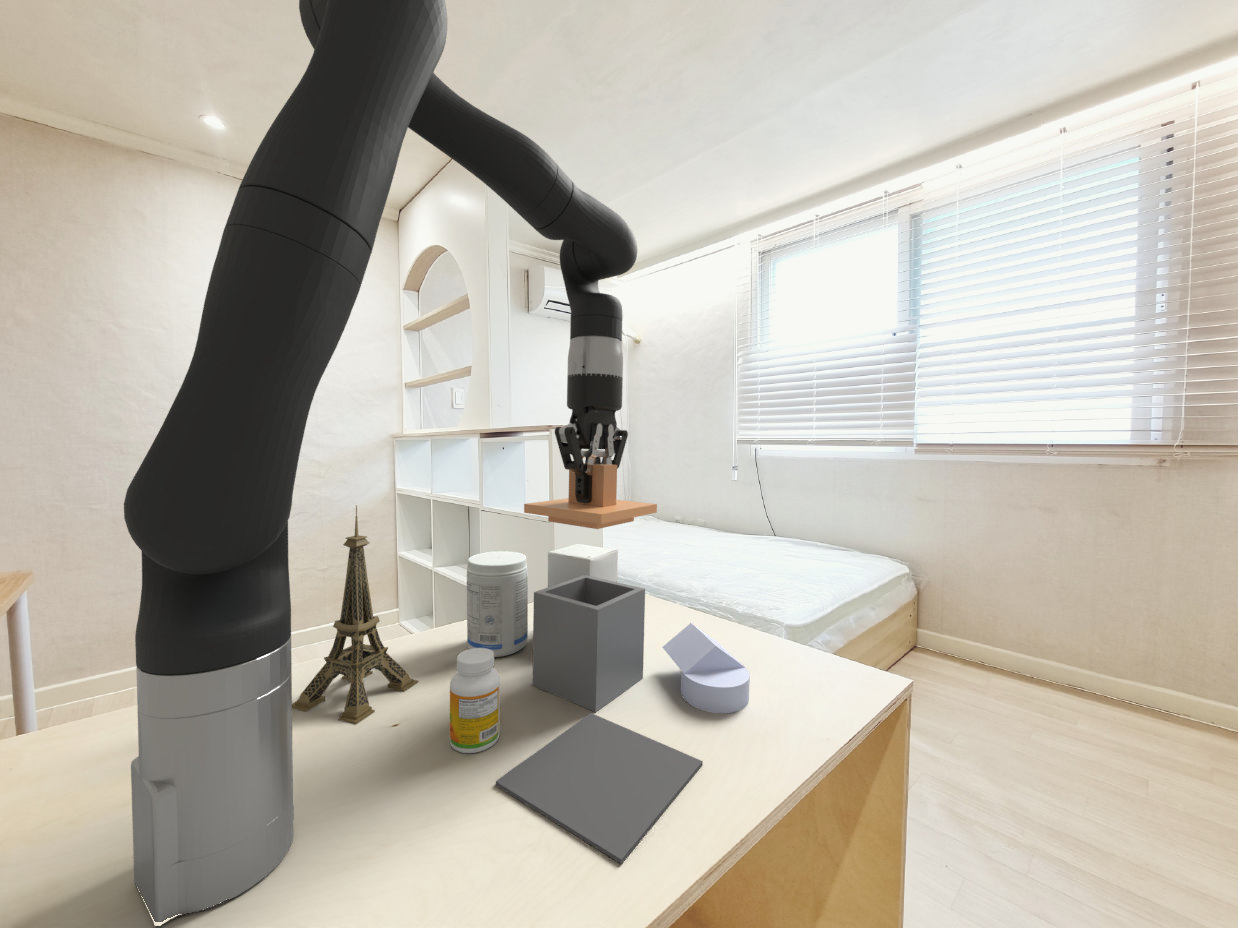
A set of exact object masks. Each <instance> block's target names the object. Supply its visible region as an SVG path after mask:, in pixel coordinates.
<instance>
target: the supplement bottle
mask: <svg viewBox="0 0 1238 928" xmlns="http://www.w3.org/2000/svg"><path fill="white" fill-rule="evenodd" d="M494 666H495V657H494V653H493V651H492V650H490V649H486V648H473V649H469V648H468V649H466V650H464V651H461V652H459V654H458V655H457V657H456V672H455V674H454V675H453V676H451V679H450V682H449V743H450V746H451V747H452V749H453V750H455V751H457V752H459V753H462V754H463V753H464V754H473V753H474V754H475V753H480V752H483V751H485V750H486V751H487V749H489V748H491V747H492V746H494V745H495V744H496V743H497V741H498V740H499V737H500V728H501V727H500V725H501V724H500V722H501V721H500V720H501V719H500V718H501V717H500V716H501V715H500V714H501V706H500V705H501V697H500V696H501V677H500V674H499V672H498V670H497V669H495V667H494Z"/></svg>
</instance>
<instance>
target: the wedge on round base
mask: <svg viewBox="0 0 1238 928" xmlns="http://www.w3.org/2000/svg"><path fill="white" fill-rule="evenodd" d="M662 649H663V650H664V651H665V652H666V653H667V655H668V656H669V657H670V659H671V660H672V661H673V663H674V664H675V665H676V666H677V667H678V668H679V670H680V671H681V672H680V675H681V676H680V695H681V694H682V695H681V697H682V696H683V697H684V699H685V700H684V699H683V700H684V701H685V702H686V701H687V702H688V703H687V702H686V703H687V704H689V705H690V704H691V705H690V706H692V707H694V708H696V709H698V710H702V711H704V712H707V713H713V714H729V713H731V714H732V713H736V712H737V713H738V711H739V712H740V711H741V710H743V709H745V708H746V707H747V706H748V705H749V703H750V702H749V701H750V681H751V680H750V678H751V676H750V675H751V674H750V672H749V670H748V668H746V666H745V665H744V664H742V663H741V662H740V661H739V660H738V659H737V658H736V657H735V656H733V654H731V653H730V651H728V650H727V649H726V648H725V647H723V646H722V644H720V643H719V642H718V641H717V640H716V639H714V638H712V637H711V636H710V635H709V634H707V633H705V632H704V631H703V630H701V629H700V628H699V627H697V626H696V625H695V624H693V623H692V622H690V623H689V624H688V625H686V626H685V627H684V628H683V629H682V630H681V631H679V632H678V633H677V634H676V635H675V636H673V637H672V638H671V639H670V640H668V641H667V642H666V643H665V644H664V645H663V646H662ZM683 697H682V698H683Z"/></svg>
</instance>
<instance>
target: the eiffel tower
mask: <svg viewBox="0 0 1238 928" xmlns="http://www.w3.org/2000/svg"><path fill="white" fill-rule="evenodd" d="M354 521H355V524H354V525H355V526H354V535H351V536H347V537H345V539H346V541H345V542H344V543H343V544H342V545H343V546H345V547H348V549H349V550H348V551H349V552H348V558H347V568H346V577H345V583H344V590H343V596H342V605H341V612H340V618H339V619H338V620H334V622H333V626H332V628H335V629H336V633H335V634H336V635H335V638H334V641H333V645H332V647H331V650H330V651H329V654H328V656H325V657H323V660H324V662H325V664H324V665H323V666H322V667H321V668H320V670H318V672H317V673H316V674H315V675H314V677H313V678H312V680H311V681H310V682H309V684H307V686H306V687H305V688H304V690H303V691H302V692H301V693H300V696H299V698H298V699H297V700H295V701H294V702H292V710H296V711H300V712H305V713H306V712H308V711H310V710H311V709H313V708H315V707H317V706H319V705H320V704H322V703H324V702H326V695H324V694H325V691H326V690H327V689H328V687H329V686H330V684H332V682H333V680H334V679H336V678H337V677H338V676H340V675H342V676H341V679H342V680H344V681H345V680H347V681H350V686H349V689H348V693H347V697H346V700H345V704H344V709H343V710H344V711H342V712H341V715H340V716H339V717H338V719H337V720H338V721H342V722H346V723H349V724H353V725H354V724H355V725H358V724H359V723H361V722H362V721H363V720H365V719H367V718H368V717H369V716H371V715H373V714H374V713H375V712H376V710H375V709H373V707H372V706H370V703H369V702H370V701H369V698H368V695H367V691H366V687H365V684H364V681H363V680H364V679H365V678H367V677H368V676H370V675H372V674H374V673H373V671H372V670H374V669H375V670H376V671H379V672H380V673H381V674H382V675H383V676H384V677H385V678H386V679H387V680H388V681H389V682H388V683H387V687H386V688H387V689H389V690H394V691H398V692H404V693H405V692H406V691H408V690H410V689H411V688H412V687H414V686H415V685H416V684H418V683H419V680H418V679H414V678H412V677H410V674H409V673H408V672H407V671H406V670H405V669H404V668H403V667H402V666H401V665H400V664H399V663H398V662H397V661H396V660H395V659H394V658H392V657H391V656H390V655H389V654H388V649H389V646H385V645H384V644H383V642H382V641H381V638H380V635H379V632H378V628H377V625H378V624H379V623H380V617H379V615H376V616H375V615H374V613H373V607H372V601H371V593H370V586H369V580H368V571H367V564H366V556H365V549H364V547H366V546H367V545H369V544H370V541H368V539H367V538H368V536H366V535H359V525H358V522H359V521H358V505H357V504H356V505H355V520H354ZM365 636H367V639H368V641H369V642H368V643H369V644H367V643H366V644H364V639H365ZM347 638H351V639H350V640H351V645H350V646H348V647H346V648H345V643H346V640H347Z"/></svg>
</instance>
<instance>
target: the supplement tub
mask: <svg viewBox="0 0 1238 928" xmlns="http://www.w3.org/2000/svg"><path fill="white" fill-rule="evenodd" d="M528 569H529V568H528V561H527V556H526V555H525V554H524V553H521V552H517V551H510V550H508V551H506V550H496V551H495V550H494V551H488V552H487V551H486V552H482V553H481V552H480V553H477V554H474V555H471V556H470V557H468V559H467V567H466V618H467V619H466V625H467V626H466V629H467V630H466V631H467V632H466V633H467V636H466V637H467V639H466V640H467V647H468V649H473V648H486V649H490V650H492V651H493V653H494V658H501V657H502V658H503V657H506V656H511V655H513V654H516V653H517V652H519V651H521V650H523V648H525V646H526V645H527V643H528V637H529V636H528V634H529V633H528V631H529V630H528V626H529V625H528V622H529V621H528V619H529V617H528V616H529V615H528V612H529V611H528V610H529V609H528V607H529V606H528V604H529V603H528V602H529V600H528V598H529V596H528V595H529V594H528V593H529V591H528V590H529V587H528V586H529V585H528V581H529V580H528V578H529V577H528V571H529V570H528Z"/></svg>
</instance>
